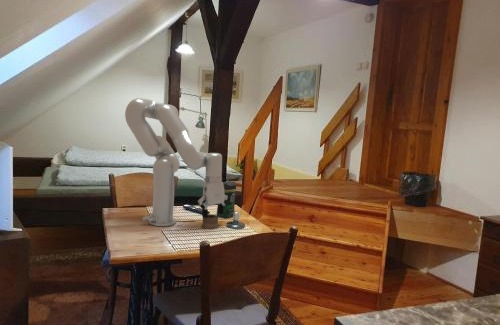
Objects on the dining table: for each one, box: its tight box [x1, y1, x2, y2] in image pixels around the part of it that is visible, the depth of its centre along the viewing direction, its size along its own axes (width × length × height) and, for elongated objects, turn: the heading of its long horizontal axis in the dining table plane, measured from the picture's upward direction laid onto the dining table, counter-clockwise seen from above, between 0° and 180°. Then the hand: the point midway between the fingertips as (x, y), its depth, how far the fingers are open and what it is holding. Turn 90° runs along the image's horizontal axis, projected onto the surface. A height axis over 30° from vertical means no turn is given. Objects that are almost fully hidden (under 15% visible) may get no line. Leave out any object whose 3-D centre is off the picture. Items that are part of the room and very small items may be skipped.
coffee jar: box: [216, 180, 237, 219], centre depth 188 cm, size 10×8×19 cm
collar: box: [201, 213, 219, 230], centre depth 168 cm, size 7×7×5 cm
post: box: [225, 210, 246, 230], centre depth 172 cm, size 9×9×7 cm
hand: (213, 215), depth 168 cm, fingers open, 9 cm apart
